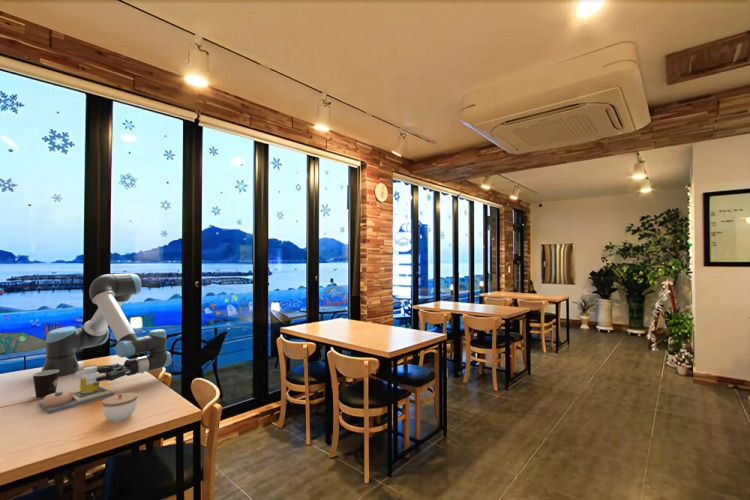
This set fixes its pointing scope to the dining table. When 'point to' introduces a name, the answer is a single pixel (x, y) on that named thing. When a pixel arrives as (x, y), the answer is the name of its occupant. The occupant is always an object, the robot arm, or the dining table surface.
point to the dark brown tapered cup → (45, 382)
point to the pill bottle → (91, 388)
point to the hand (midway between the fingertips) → (80, 378)
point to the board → (73, 403)
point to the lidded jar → (119, 406)
